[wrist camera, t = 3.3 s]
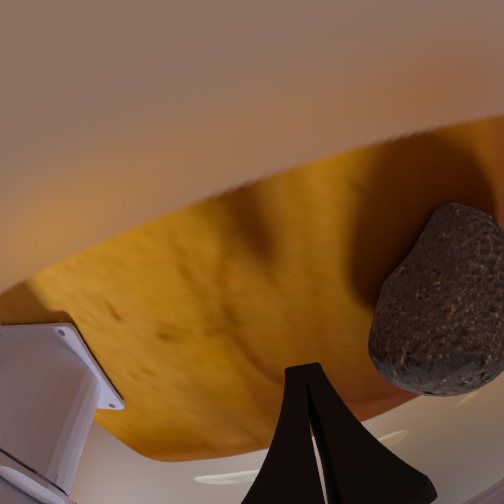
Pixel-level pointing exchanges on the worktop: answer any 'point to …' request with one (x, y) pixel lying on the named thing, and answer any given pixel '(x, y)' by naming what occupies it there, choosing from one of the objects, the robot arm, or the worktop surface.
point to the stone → (444, 307)
